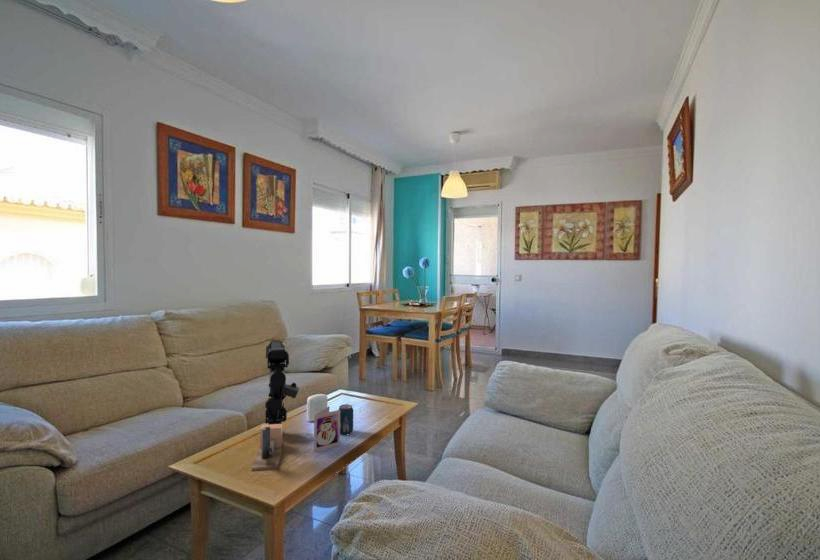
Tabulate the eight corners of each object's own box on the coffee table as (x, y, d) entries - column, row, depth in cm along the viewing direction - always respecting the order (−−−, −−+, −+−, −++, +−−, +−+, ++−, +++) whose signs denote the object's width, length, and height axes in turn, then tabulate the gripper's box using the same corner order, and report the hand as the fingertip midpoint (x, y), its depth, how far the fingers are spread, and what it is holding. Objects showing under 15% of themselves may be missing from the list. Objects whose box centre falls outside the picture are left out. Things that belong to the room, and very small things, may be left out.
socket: (261, 443, 157) (262, 424, 157) (282, 442, 159) (282, 423, 159) (260, 448, 153) (260, 429, 153) (280, 447, 154) (281, 427, 154)
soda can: (347, 428, 177) (347, 402, 177) (356, 432, 172) (356, 406, 172) (334, 432, 172) (335, 406, 172) (343, 437, 167) (344, 410, 167)
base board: (260, 445, 157) (260, 443, 157) (283, 444, 159) (283, 441, 159) (251, 470, 138) (251, 467, 138) (277, 468, 140) (277, 465, 140)
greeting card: (314, 452, 152) (315, 416, 152) (307, 445, 158) (308, 410, 158) (340, 445, 159) (341, 410, 159) (333, 439, 165) (333, 405, 165)
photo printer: (325, 415, 192) (325, 391, 191) (328, 418, 188) (328, 394, 188) (305, 420, 186) (305, 395, 186) (308, 423, 182) (308, 397, 182)
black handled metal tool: (268, 443, 156) (268, 413, 156) (275, 442, 157) (275, 413, 156) (261, 462, 140) (261, 430, 140) (269, 462, 141) (269, 429, 140)
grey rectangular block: (264, 449, 152) (264, 439, 152) (275, 448, 153) (275, 438, 153) (261, 459, 144) (261, 448, 144) (272, 458, 145) (273, 447, 145)
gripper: (295, 385, 147) (295, 425, 147) (299, 373, 165) (298, 408, 165) (265, 386, 144) (264, 427, 145) (272, 374, 163) (271, 410, 163)
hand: (276, 417), depth 154 cm, fingers open, 9 cm apart
